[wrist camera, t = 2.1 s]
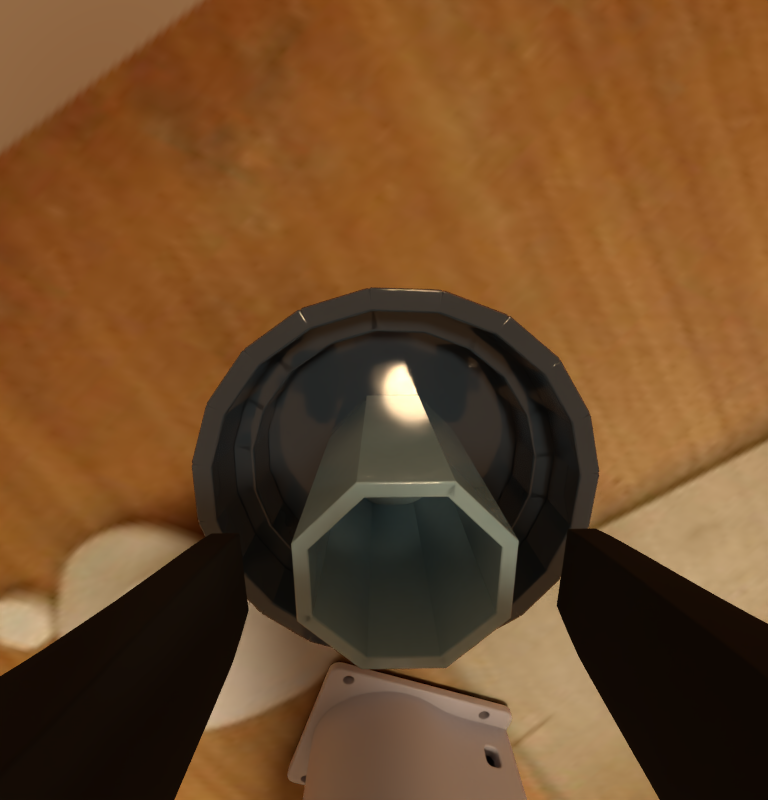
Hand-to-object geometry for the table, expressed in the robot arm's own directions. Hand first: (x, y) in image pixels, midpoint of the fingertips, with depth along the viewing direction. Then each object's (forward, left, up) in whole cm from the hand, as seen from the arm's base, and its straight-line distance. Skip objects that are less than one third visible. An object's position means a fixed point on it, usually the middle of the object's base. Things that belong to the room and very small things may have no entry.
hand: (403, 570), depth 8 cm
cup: (0, 0, -7) cm, 7 cm away
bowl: (0, 0, -7) cm, 7 cm away
